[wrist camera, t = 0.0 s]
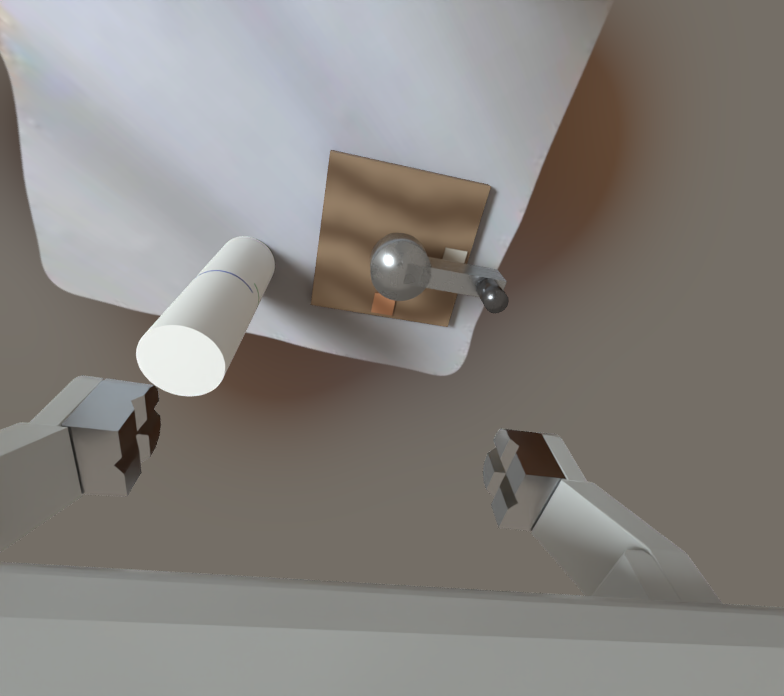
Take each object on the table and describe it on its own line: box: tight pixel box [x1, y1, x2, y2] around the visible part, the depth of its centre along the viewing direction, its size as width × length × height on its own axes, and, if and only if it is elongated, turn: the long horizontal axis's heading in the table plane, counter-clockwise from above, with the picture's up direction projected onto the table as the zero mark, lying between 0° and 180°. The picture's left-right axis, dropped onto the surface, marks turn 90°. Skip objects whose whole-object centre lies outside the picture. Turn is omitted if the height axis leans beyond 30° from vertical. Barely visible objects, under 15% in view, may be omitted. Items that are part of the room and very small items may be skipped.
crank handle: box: [370, 233, 508, 313], centre depth 49 cm, size 16×7×8 cm, turn 78°
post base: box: [311, 150, 491, 327], centre depth 55 cm, size 20×20×6 cm
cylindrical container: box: [136, 236, 275, 396], centre depth 47 cm, size 7×7×25 cm
